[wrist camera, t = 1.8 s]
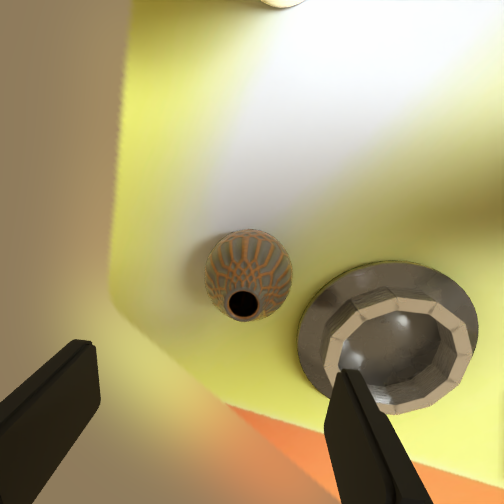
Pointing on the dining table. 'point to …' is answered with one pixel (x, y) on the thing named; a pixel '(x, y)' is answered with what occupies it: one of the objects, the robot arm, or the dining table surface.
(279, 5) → the beer glass
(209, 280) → the vase
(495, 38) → the dining table surface
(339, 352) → the ring seat
